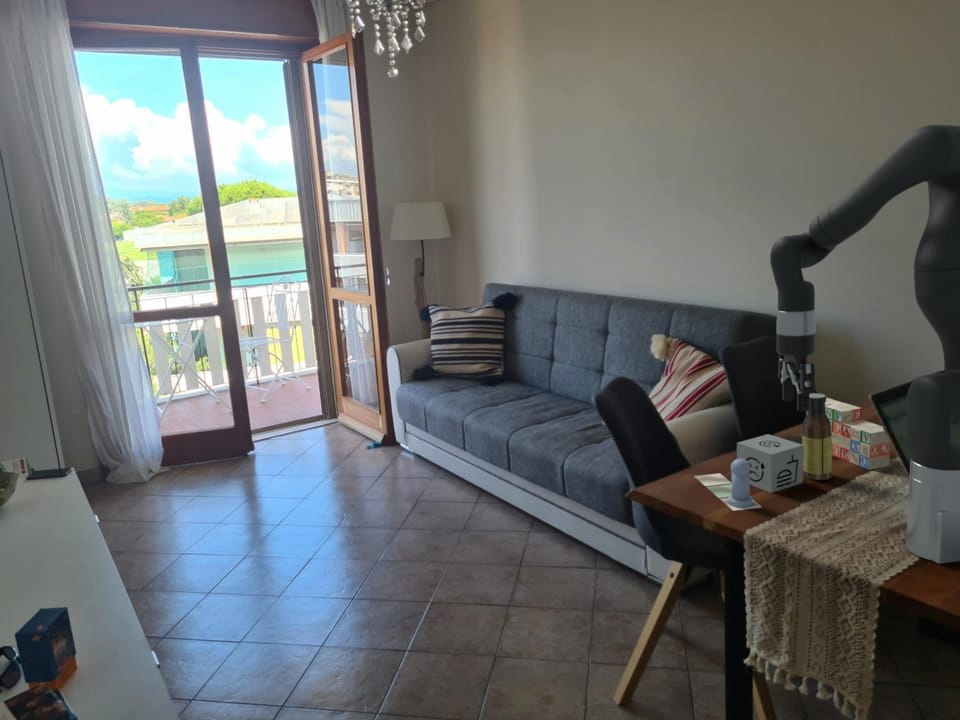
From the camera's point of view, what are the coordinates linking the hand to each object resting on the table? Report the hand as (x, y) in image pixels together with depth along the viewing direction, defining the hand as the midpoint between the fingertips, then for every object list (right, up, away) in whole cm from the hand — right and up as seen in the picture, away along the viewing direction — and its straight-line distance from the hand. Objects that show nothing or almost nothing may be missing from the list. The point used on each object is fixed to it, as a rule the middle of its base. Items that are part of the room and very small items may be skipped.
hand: (795, 405), depth 152 cm
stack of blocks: (+25, -14, +27) cm, 39 cm away
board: (-12, -21, +8) cm, 25 cm away
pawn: (-11, -21, +1) cm, 24 cm away
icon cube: (-1, -19, +12) cm, 23 cm away
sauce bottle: (+11, -18, +15) cm, 26 cm away
